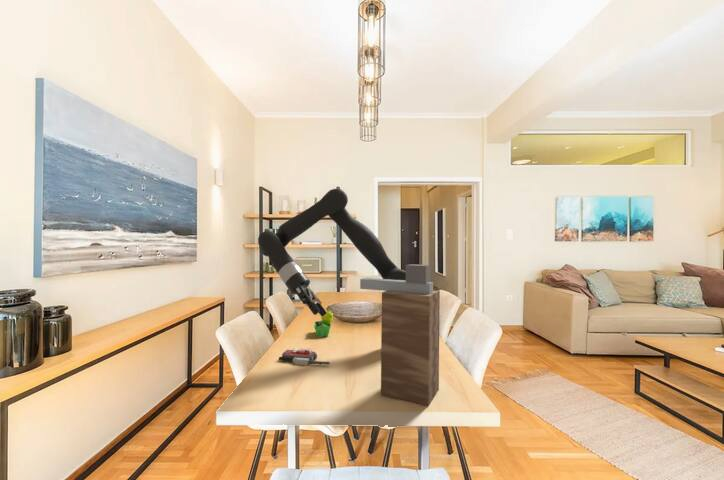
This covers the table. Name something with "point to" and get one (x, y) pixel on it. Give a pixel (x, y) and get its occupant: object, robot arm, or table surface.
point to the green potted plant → (324, 325)
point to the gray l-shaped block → (403, 281)
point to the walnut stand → (410, 346)
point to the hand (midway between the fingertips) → (321, 314)
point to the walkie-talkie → (301, 357)
